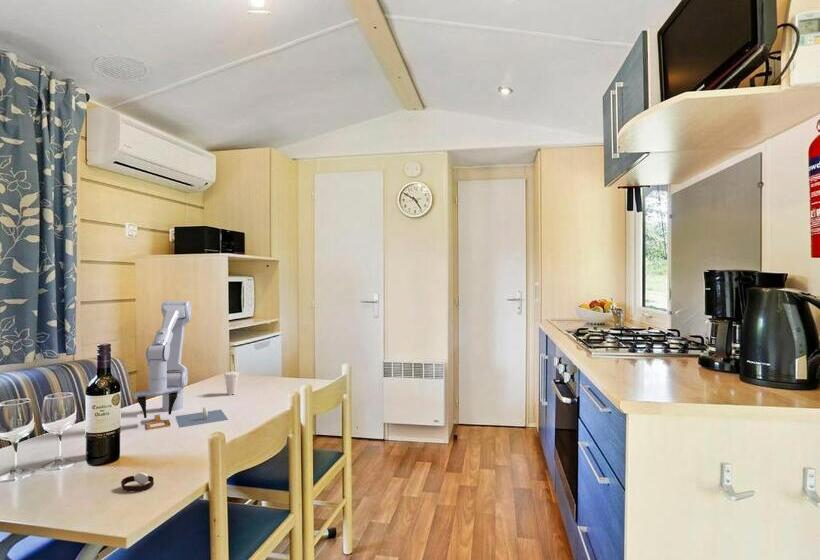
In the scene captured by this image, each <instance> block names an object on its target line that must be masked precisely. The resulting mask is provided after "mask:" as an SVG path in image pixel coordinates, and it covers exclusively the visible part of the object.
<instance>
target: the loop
mask: <svg viewBox="0 0 820 560" xmlns="http://www.w3.org/2000/svg"><path fill="white" fill-rule="evenodd" d="M163 423H166V424H163ZM157 424H162V425H157ZM145 425H146V430H147V431H150V430H156V429H163V428H168V427H169V428H170V427H171V422H170V419H163V420H161V415H160V414H154V421H150V422H146V424H145ZM151 425H155V426H151Z"/></svg>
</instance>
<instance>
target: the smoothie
mask: <svg viewBox="0 0 820 560" xmlns="http://www.w3.org/2000/svg"><path fill="white" fill-rule="evenodd" d="M231 369H232V370H231V371H229V372H225V373H224V374H223V375H224V379H225V386H226V394H228V395H227V396H233V395H232V394H235V395H237V390H238V382H239V376H240V372H238V371H234V363H232V366H231Z"/></svg>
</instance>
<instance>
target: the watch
mask: <svg viewBox="0 0 820 560" xmlns="http://www.w3.org/2000/svg"><path fill="white" fill-rule="evenodd" d="M154 479H155V478H154V477H153V476H151V475H148V474H147V473H145V472H141V471H140V472H138V473H137V474H135V475H131V476H126V477H124V478H123V479H122V480H121V482H120V484H121V488H122V490H123V491H124V490H126V491H125V492H129V491H135V492H143V491H142V490H144V491H147V490H149V489H151V488H152V487H154V484H155V482H154ZM132 482H136V483H137V484H139V485H127V484H128V483H132Z"/></svg>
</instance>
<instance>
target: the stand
mask: <svg viewBox="0 0 820 560" xmlns="http://www.w3.org/2000/svg"><path fill="white" fill-rule="evenodd" d="M175 419H176V421H177V424H178V427H179V429H180V428H185V427H192V426H193V427H194V426H197V425H205V424H211V423H216V422H223V421H229V419H228V417H227V416H226V414H225V413H224V411H223V410H222V409H217V410H216V409H215V410H209V409H208V406H207V407H203V408H202V412H201V411H200V412H196V413H195V412H194V413H188V414H181V415H175Z"/></svg>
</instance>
